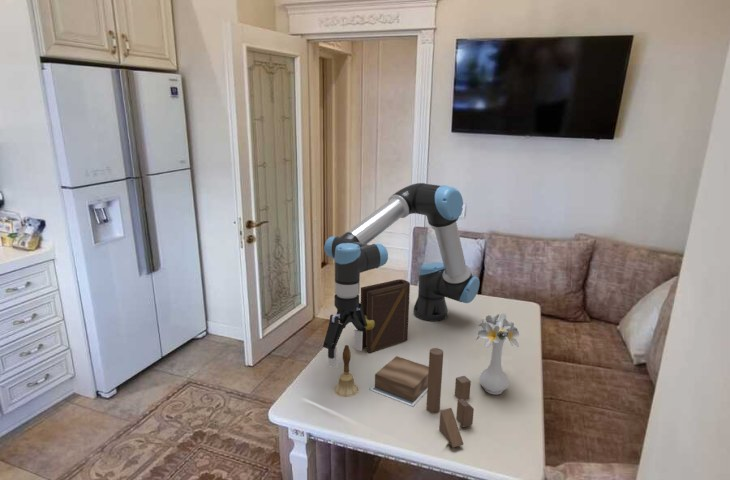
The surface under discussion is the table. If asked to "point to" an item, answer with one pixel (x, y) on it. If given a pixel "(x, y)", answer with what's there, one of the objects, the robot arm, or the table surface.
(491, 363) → the flower vase
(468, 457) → the table surface
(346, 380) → the hand bell
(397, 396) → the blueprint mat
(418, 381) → the walnut plinth
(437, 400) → the wooden blocks
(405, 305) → the book
